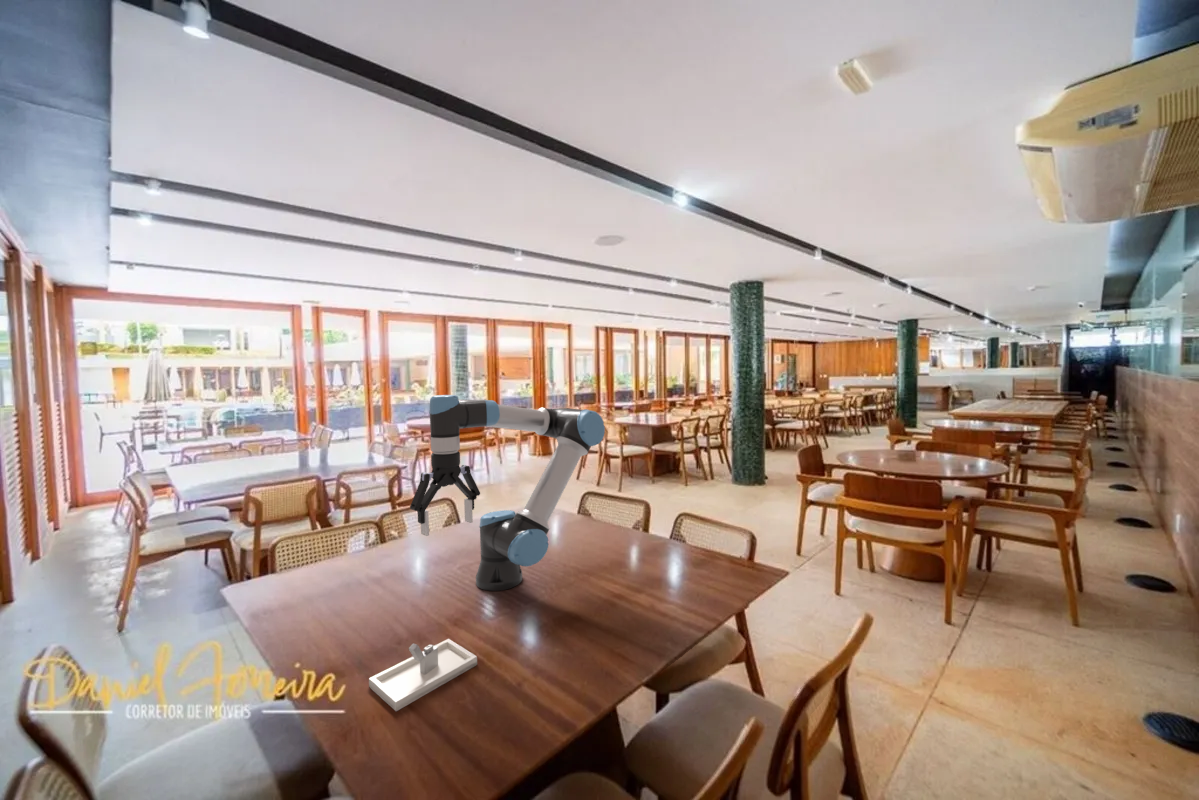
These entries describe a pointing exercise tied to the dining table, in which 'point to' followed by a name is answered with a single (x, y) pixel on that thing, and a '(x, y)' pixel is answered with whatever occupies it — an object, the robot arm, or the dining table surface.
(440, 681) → the tray
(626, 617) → the dining table surface
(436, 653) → the lighter
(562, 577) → the dining table surface
